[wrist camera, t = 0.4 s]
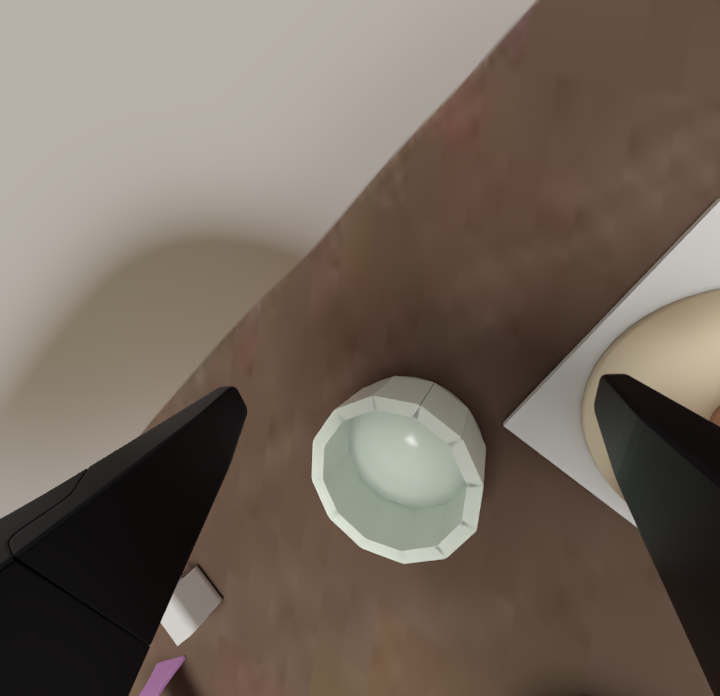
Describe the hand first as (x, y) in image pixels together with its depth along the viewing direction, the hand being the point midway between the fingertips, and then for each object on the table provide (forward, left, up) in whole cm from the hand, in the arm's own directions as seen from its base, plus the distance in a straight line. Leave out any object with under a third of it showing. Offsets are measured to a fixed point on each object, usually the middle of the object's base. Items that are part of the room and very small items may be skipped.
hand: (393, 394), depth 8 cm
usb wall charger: (+6, +38, -14) cm, 41 cm away
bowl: (-2, +9, -14) cm, 17 cm away
